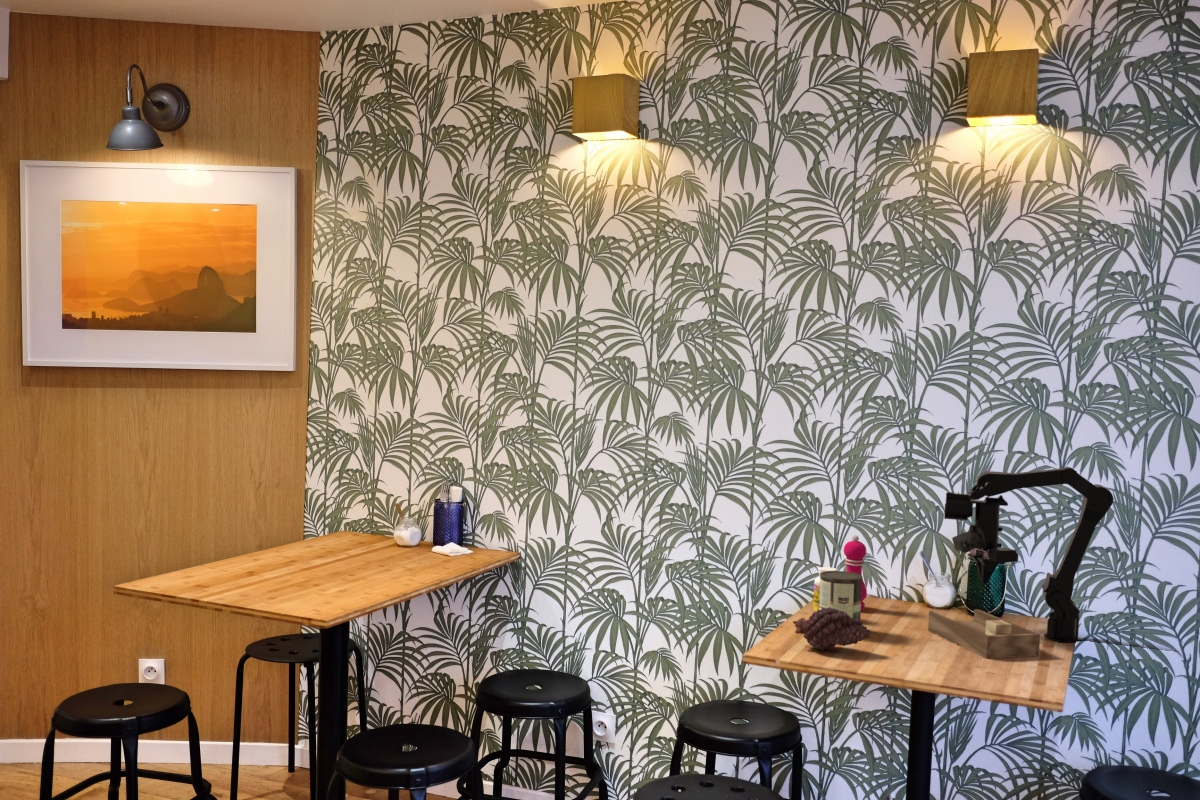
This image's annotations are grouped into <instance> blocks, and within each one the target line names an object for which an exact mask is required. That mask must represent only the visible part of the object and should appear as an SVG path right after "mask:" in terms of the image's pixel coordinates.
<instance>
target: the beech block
mask: <svg viewBox="0 0 1200 800" xmlns="http://www.w3.org/2000/svg"><path fill="white" fill-rule="evenodd" d="M985 634H986V635H1011V624H1009V623H1007V622H1005V621H1002V620H986V631H985Z"/></svg>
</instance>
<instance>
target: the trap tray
mask: <svg viewBox="0 0 1200 800" xmlns="http://www.w3.org/2000/svg"><path fill="white" fill-rule="evenodd" d="M973 610H974V611H973V613H974V614H973V620H969V619H968V620H954V619H951V618H950V617H947V616H946V615H943V614H940V613H938V612H935V611H934V610H928V623H927V624H928V625H927V632H929V631H930V632H929V633H932V632H933V633H932V634H934V635H936V634H937V635H936V636H938V635H939V636H938V637H940V636H941V637H940V638H942V637H943V638H942V639H944V638H945V640H946V639H947V641H948V640H949V642H951V643H953V644H955V643H956V644H955V645H957V644H958V645H957V646H959V647H961V648H963V649H966V650H968V651H970V652H972V653H974V654H976V655H977V656H978V655H979V656H981V657H982V658H984V657H985V658H984V659H1000V658H999V657H1001V658H1002V657H1005V658H1021V657H1039V656H1040V645H1041V643H1040V642H1041V641H1040V639H1041V634H1039V633H1037V632H1035V631H1032V630H1030V629H1028V628H1026V627H1023V626H1020V625H1018V624H1016V623H1013V622H1010V621H1007V620H1006V619H1003V618H1000V617H998V616H995V615H994V614H991V613H988V612H985V611H984V610H981V609H977V608H975V609H973ZM986 620H1002V621H1005V622H1007V623H1009V624H1011V635H986V634H985V631H986ZM1002 659H1003V658H1002Z"/></svg>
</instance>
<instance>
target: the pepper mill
mask: <svg viewBox="0 0 1200 800" xmlns="http://www.w3.org/2000/svg"><path fill="white" fill-rule="evenodd" d="M851 539H852V540H849V541H847V542H846V543H845V545H844V546H843V553H844V556H845V557H846V558H845V559H844V560H845V562H844V564H845V565H846V572H852V573H857V574H859V575H861V576H862V577H863V575H862V574H863V572H862V569H863V566H864V565H865V563H864V562H865V560H864V558H865V557H866V554H867V547H866V545H865V544H864V543H863V542H862V541H859V540H860V538H859V536H858V535H857V534H854V535H853V536H852V538H851ZM861 589H862V590H861V612H863V611H864V610H865V609H866V608H865V602H864V600H865V599H866V598H867V596H868V590H867V586H866V584H865V581H864V579H863V578H862V588H861Z"/></svg>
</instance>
